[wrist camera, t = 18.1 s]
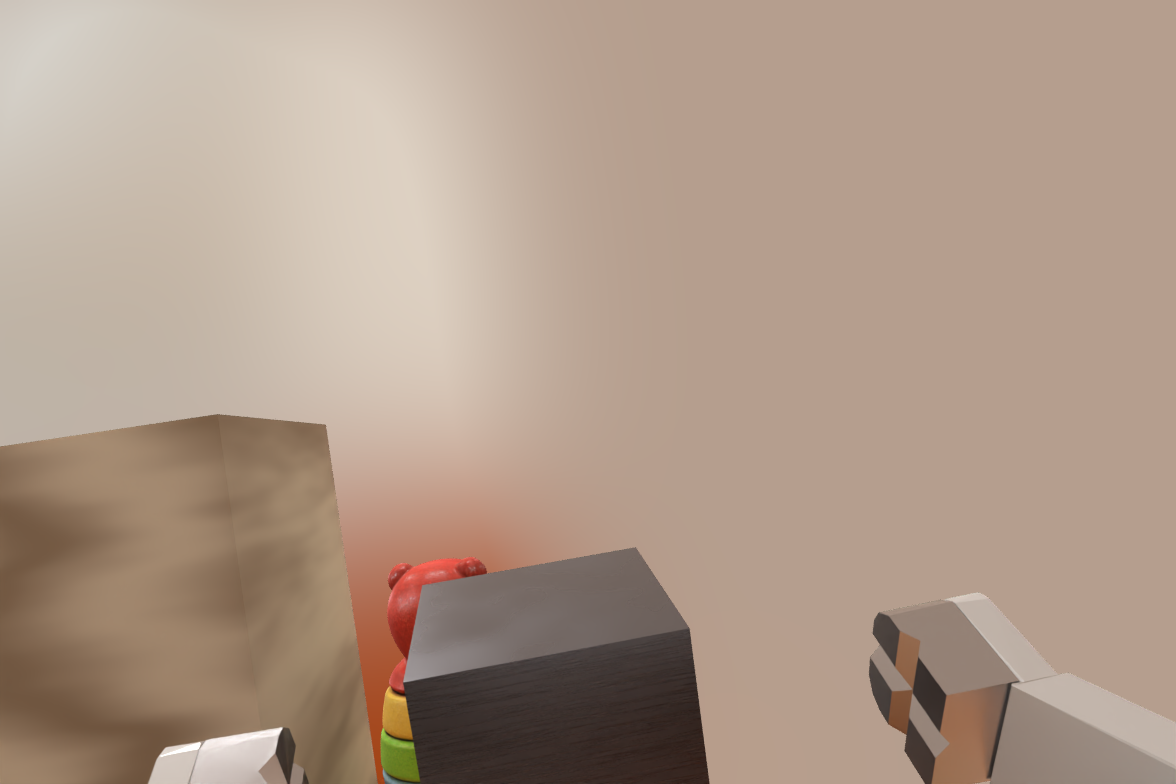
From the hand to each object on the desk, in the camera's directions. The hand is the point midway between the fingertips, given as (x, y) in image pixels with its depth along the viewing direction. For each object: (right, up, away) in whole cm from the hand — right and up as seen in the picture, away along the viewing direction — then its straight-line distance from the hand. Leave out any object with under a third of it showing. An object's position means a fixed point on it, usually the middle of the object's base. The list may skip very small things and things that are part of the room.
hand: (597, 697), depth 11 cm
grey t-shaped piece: (0, -11, +10) cm, 15 cm away
